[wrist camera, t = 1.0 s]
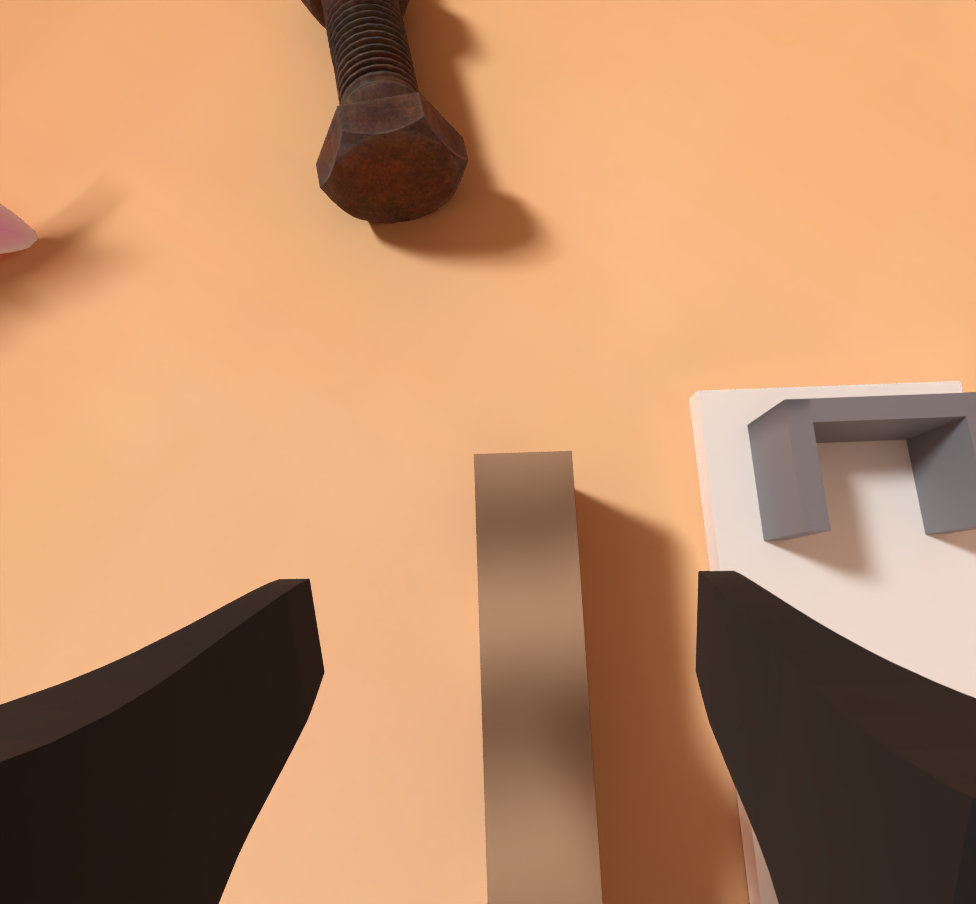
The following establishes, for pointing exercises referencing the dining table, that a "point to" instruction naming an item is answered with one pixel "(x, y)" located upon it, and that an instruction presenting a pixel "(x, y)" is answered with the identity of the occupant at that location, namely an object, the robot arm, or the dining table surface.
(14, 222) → the lily
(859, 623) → the board
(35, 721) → the robot arm
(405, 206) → the bolt
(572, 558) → the slat
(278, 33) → the dining table surface
